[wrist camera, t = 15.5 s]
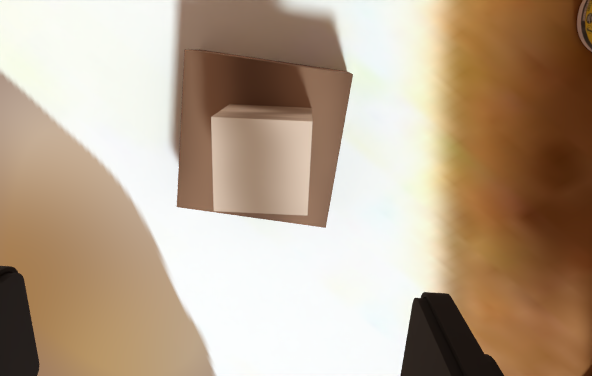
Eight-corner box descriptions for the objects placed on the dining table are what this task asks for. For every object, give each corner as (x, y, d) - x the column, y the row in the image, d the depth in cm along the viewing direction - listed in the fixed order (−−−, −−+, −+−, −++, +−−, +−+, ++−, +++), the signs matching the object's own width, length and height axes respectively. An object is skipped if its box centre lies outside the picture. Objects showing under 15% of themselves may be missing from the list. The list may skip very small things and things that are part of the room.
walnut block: (346, 71, 28) (352, 74, 24) (323, 206, 31) (325, 227, 27) (201, 49, 28) (184, 49, 24) (193, 187, 31) (176, 206, 27)
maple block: (311, 107, 25) (312, 121, 20) (307, 185, 26) (307, 215, 21) (229, 104, 25) (211, 116, 20) (230, 182, 26) (213, 211, 22)
